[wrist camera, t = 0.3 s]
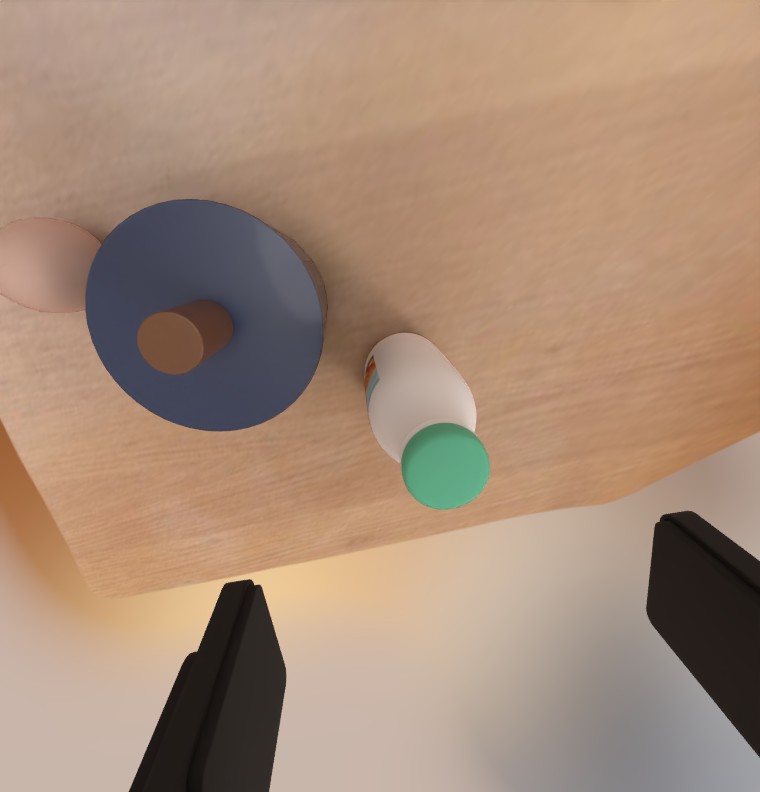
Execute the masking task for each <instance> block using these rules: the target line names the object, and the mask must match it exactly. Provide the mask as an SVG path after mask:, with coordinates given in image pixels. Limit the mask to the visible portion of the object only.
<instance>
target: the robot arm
mask: <svg viewBox="0 0 760 792" xmlns="http://www.w3.org/2000/svg"><path fill="white" fill-rule="evenodd" d="M646 609H647V610H646V611H647V615H648V617H649V620H650V621H651V624H652V625H653V626H654V628H655V629H656V630H657V631H658V633H659V634H660V635H661V636H662V638H663V639H664V640H665V641H666V642H667V644H668V645H669V646H670V647H671V649H672V650H673V651H674V652H675V654H676V655H677V656H678V657H679V659H680V660H681V661H682V662H683V664H684V665H685V666H686V667H687V668H688V670H689V671H690V672H691V673H692V674H693V676H694V677H695V678H696V679H697V681H698V682H699V683H700V684H701V686H702V687H703V688H704V689H705V690H706V692H707V693H708V694H709V696H710V697H711V698H712V699H713V700H714V702H715V703H716V704H717V705H718V707H719V708H720V709H721V710H722V712H723V713H724V714H725V715H726V716H727V718H728V719H729V720H730V721H731V723H732V724H733V725H734V726H735V727H736V729H737V730H738V731H739V732H740V734H741V735H742V736H743V737H744V739H745V740H746V741H747V742H748V744H749V745H750V746H751V747H752V749H753V750H754V751H755V752H756V753H757V755H758V756H759V757H760V561H759V560H757V559H756V558H755V557H753V556H752V555H751V554H749V553H748V552H747V551H745V550H744V549H743V548H741V547H740V546H738V545H737V544H736V543H735V542H733V541H732V540H731V539H729V538H728V537H727V536H725V535H724V534H723V533H721V532H720V531H719V530H717V529H716V528H714V527H713V526H712V525H711V524H709V523H708V522H707V521H705V520H704V519H702V518H701V517H700V516H699V515H697V514H696V513H694V512H692V511H684V512H677V513H671V514H665V515H663V516H662V517H661V518H660V522H657V523H656V524H655V529H654V538H653V548H652V558H651V567H650V577H649V587H648V597H647V607H646ZM285 687H286V668H285V664H284V660H283V657H282V654H281V651H280V647H279V643H278V640H277V637H276V633H275V630H274V627H273V624H272V620H271V617H270V613H269V610H268V607H267V603H266V600H265V597H264V593H263V590H262V587H261V585H254V583H253V581H252V580H250V579H249V580H242V581H236V582H230V583H226V584H225V585H224V586H223V588H222V590H221V593H220V595H219V598H218V600H217V603H216V606H215V608H214V611H213V613H212V616H211V618H210V621H209V623H208V626H207V628H206V631H205V633H204V636H203V638H202V641H201V644H200V646H199V649H198V651H197V652H193V653H190V654H189V655H188V656H187V657H186V659H185V660H184V662H183V664H182V666H181V669H180V671H179V673H178V676H177V678H176V681H175V683H174V685H173V688H172V690H171V693H170V695H169V697H168V700H167V702H166V704H165V707H164V709H163V712H162V714H161V716H160V719H159V721H158V723H157V726H156V728H155V731H154V733H153V735H152V738H151V740H150V743H149V745H148V747H147V750H146V752H145V754H144V757H143V759H142V762H141V764H140V767H139V769H138V771H137V774H136V776H135V778H134V781H133V783H132V786H131V788H130V790H129V792H269V788H270V782H271V775H272V769H273V763H274V757H275V750H276V743H277V737H278V731H279V725H280V718H281V712H282V706H283V699H284V693H285Z"/></svg>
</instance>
